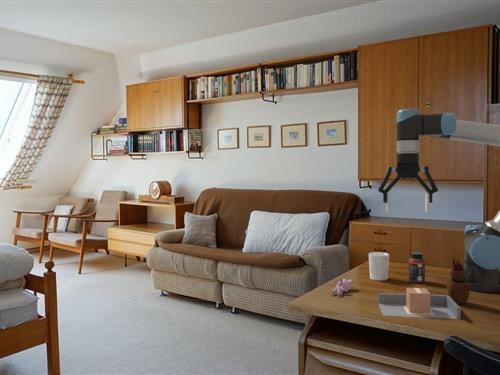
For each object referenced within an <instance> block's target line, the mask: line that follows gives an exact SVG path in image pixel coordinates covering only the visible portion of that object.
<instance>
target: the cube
mask: <svg viewBox="0 0 500 375" xmlns="http://www.w3.org/2000/svg"><path fill="white" fill-rule="evenodd" d="M405 292H406V293H405V294H406V307H407V309H408V310H409V312H410V313H430V295H431V293H430V292H429V290H428V289H427V288H426V287H425V288H424V287H423V288H421V287H420V288H419V287H406V289H405Z"/></svg>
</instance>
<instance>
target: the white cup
mask: <svg viewBox="0 0 500 375" xmlns="http://www.w3.org/2000/svg"><path fill="white" fill-rule="evenodd" d="M389 262H390V254H389V253H387V252H380V251H377V252H376V251H373V252H372V251H371V252H369V253H368V267H369V268H368V270H369V278H370V279H371V280H372V281H381V282H382V281H387V280H388V274H389V266H390V264H389Z"/></svg>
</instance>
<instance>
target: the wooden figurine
mask: <svg viewBox="0 0 500 375" xmlns="http://www.w3.org/2000/svg"><path fill="white" fill-rule="evenodd" d="M461 263H462V262H460V261H459V259H458V258H457V259H456V260H455V258H454V257H453V258H452V269H451V270H450V271H449V277H450V279H449V280H448V282H446V283H447V284H446V293H447V294H446V295H449V296H450V297H451V299H452V300H453V301H454V302H455V303H456V304H457V305H463V304H466V303H467V302H468V300H469V297H470V291H471V290H470V286H469V284H468V282H467V281H464V280H465V279H466V277H467V273H466V271H465V270H464V268H463V267H464V264H463V263H462V264H461Z"/></svg>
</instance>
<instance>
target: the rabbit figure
mask: <svg viewBox="0 0 500 375" xmlns="http://www.w3.org/2000/svg"><path fill="white" fill-rule="evenodd" d="M337 282H338V283H337V284H336V286H335V287H331V288H330V289H331V292H330V293H331V294H330V296H332V297H333V296H337V297H338V298H340V297H341V296H342V295H343V293H346V292H349V290H350V289H351V287H350V286H351V284H353V279H347V278H341V277H340V278H339V279H338V281H337Z"/></svg>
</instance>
